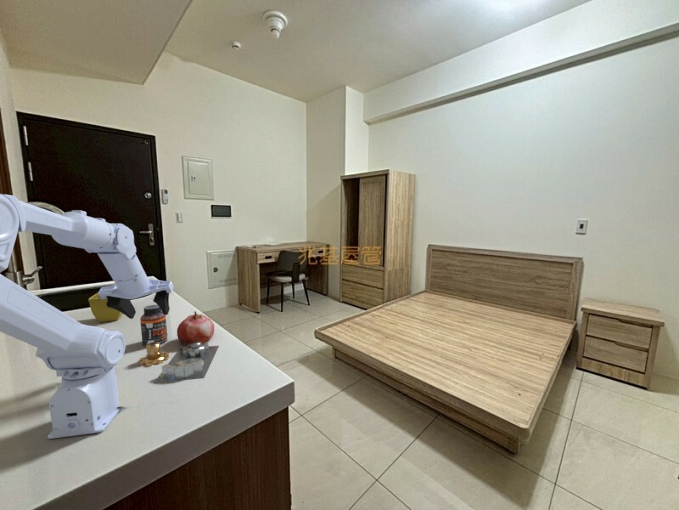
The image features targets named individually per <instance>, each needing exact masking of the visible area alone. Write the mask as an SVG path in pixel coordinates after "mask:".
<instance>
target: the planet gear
mask: <svg viewBox="0 0 679 510" xmlns="http://www.w3.org/2000/svg"><path fill="white" fill-rule="evenodd" d="M145 349H146V354H145V356H144V357H141V358H139V360H138V363H139V366H141V367H143V366H146V368H147V367H153V365H161V364H164V361H167V360H169V359H170V354H169V352H167V351H164V352H163V351H161V350H162V349H161V345H160V342H152V343H149V344H147V345H146V347H145Z"/></svg>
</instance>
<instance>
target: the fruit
mask: <svg viewBox="0 0 679 510" xmlns="http://www.w3.org/2000/svg"><path fill="white" fill-rule="evenodd" d="M193 313H194V314H191V315H188V316H187V317H186V318H185V319H183V320H182V321H181V322H180V323H179V325H178V326H177V329H176V336H177V339H178V341H179V342H180V343H181V344H182V345H186V346H187V345H189V344H191V343H192V342H196V341H200V342H201V343H205V342H206V343H209V342H210V340H211V339H212V337H214V333H215V323H214V322H213V321H212V319H211V318H209V317H208V316H206V315H204V314H202V313H200V314H199V313H197V311H196V310H194V312H193Z"/></svg>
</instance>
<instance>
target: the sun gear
mask: <svg viewBox="0 0 679 510" xmlns="http://www.w3.org/2000/svg"><path fill="white" fill-rule="evenodd" d="M208 343H209V342H205V343H201V342H200V341H196V342H192V343H191V344H189V345H186V346H184V347H182V349H183V355H184V357H185V358H187V357H190V358H195V357H196V356H203V355H205V353H206V352H209V346H210V345H209V344H208Z"/></svg>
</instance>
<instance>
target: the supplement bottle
mask: <svg viewBox="0 0 679 510" xmlns="http://www.w3.org/2000/svg"><path fill="white" fill-rule="evenodd" d="M166 317H167V316H166V315H164V314H163V312H162V310H161V308H160V307H159V306H158V305H157V304H152V305H147V306H144V307H143V314H142V315H141V316H140V321H139V322H140V331H141V341H142V342H141V344H142V346H143V347H145V348H146V345H147V344H149V343H152V342H160V346H161V345H164V344H165V343H166V342H167V341H168V331H167V330H168V328H167V318H166Z"/></svg>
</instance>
